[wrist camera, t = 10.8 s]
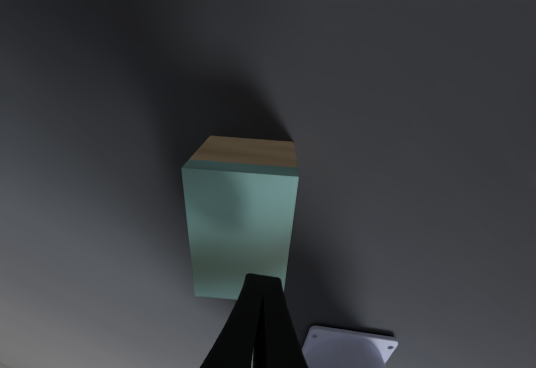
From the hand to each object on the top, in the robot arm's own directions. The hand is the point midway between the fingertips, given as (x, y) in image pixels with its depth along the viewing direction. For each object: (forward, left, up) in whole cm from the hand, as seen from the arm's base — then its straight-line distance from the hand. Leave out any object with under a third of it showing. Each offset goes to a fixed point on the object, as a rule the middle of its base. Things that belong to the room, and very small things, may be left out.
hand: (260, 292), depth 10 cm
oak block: (0, +1, -3) cm, 3 cm away
